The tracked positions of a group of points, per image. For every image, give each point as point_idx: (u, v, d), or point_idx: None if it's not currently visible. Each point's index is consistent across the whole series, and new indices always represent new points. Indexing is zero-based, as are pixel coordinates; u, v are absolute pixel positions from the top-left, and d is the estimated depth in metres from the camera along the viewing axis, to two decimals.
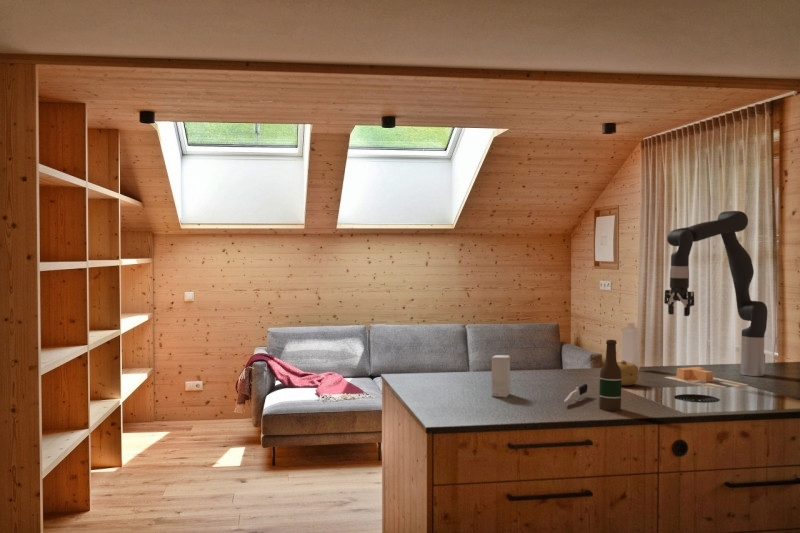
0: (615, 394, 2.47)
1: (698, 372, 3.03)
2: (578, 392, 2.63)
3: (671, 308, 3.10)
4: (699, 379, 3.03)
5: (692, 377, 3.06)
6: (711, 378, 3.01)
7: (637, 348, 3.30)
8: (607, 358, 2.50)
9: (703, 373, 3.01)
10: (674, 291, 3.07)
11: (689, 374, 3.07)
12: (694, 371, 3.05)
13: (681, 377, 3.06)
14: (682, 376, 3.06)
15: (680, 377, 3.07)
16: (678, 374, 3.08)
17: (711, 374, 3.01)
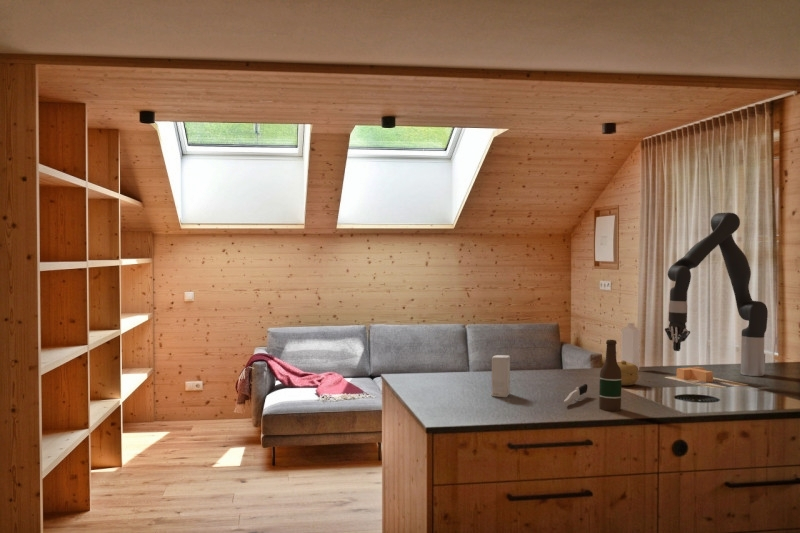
0: (615, 394, 2.47)
1: (698, 372, 3.03)
2: (578, 392, 2.63)
3: None
4: (699, 379, 3.03)
5: (692, 377, 3.06)
6: (711, 378, 3.01)
7: (637, 348, 3.30)
8: (607, 358, 2.50)
9: (703, 373, 3.01)
10: (672, 325, 3.17)
11: (689, 374, 3.07)
12: (694, 371, 3.05)
13: (681, 377, 3.06)
14: (682, 376, 3.06)
15: (680, 377, 3.07)
16: (678, 374, 3.08)
17: (711, 374, 3.01)
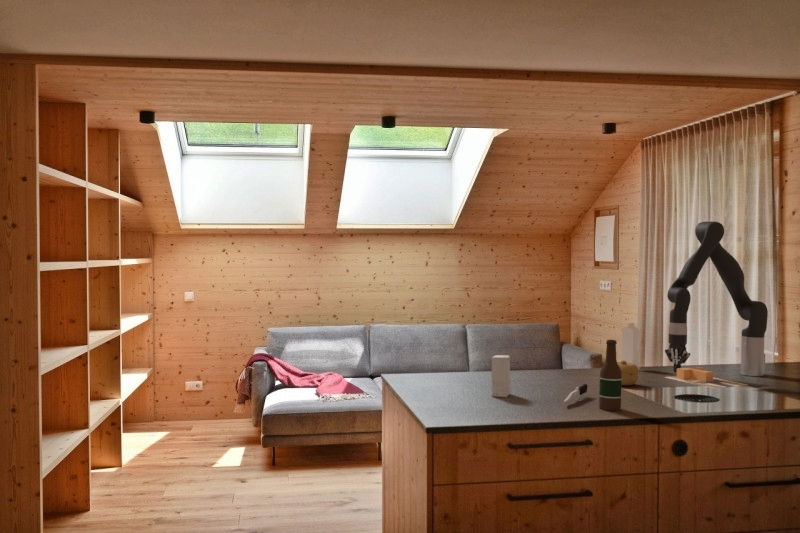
0: (615, 394, 2.47)
1: (698, 372, 3.03)
2: (578, 392, 2.63)
3: None
4: (699, 379, 3.03)
5: (692, 377, 3.06)
6: (711, 378, 3.01)
7: (637, 348, 3.30)
8: (607, 358, 2.50)
9: (703, 373, 3.01)
10: (673, 346, 3.17)
11: (689, 374, 3.07)
12: (694, 371, 3.05)
13: (681, 377, 3.06)
14: (682, 376, 3.06)
15: (680, 377, 3.07)
16: (678, 374, 3.08)
17: (711, 374, 3.01)
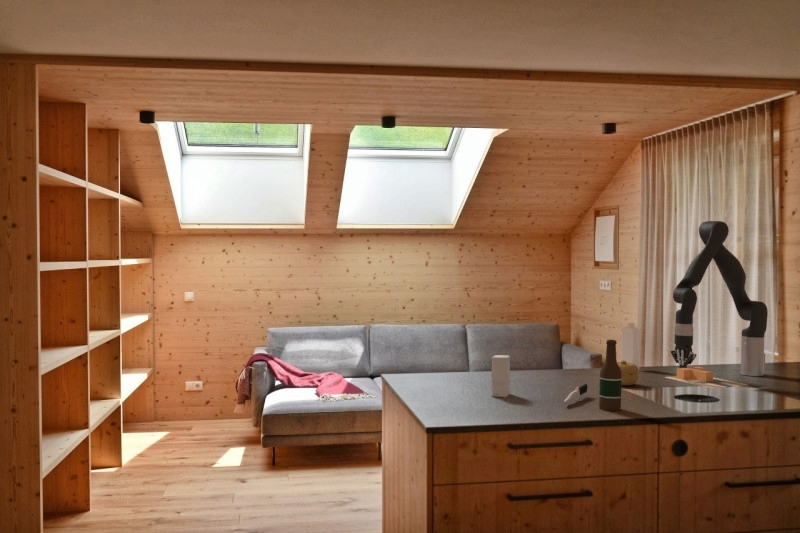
0: (615, 394, 2.47)
1: (698, 372, 3.03)
2: (578, 392, 2.63)
3: None
4: (699, 379, 3.03)
5: (692, 377, 3.06)
6: (711, 378, 3.01)
7: (637, 348, 3.30)
8: (607, 358, 2.50)
9: (703, 373, 3.01)
10: (678, 347, 3.14)
11: (689, 374, 3.07)
12: (694, 371, 3.05)
13: (681, 377, 3.06)
14: (682, 376, 3.06)
15: (680, 377, 3.07)
16: (678, 374, 3.08)
17: (711, 374, 3.01)
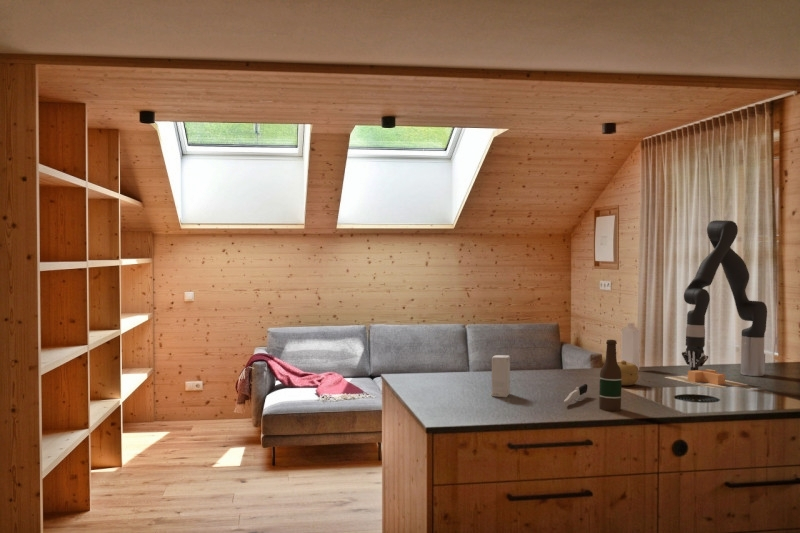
0: (615, 394, 2.47)
1: (710, 375, 2.97)
2: (578, 392, 2.63)
3: (693, 369, 3.07)
4: (711, 382, 2.97)
5: (704, 380, 3.00)
6: (723, 381, 2.95)
7: (637, 348, 3.30)
8: (607, 358, 2.50)
9: (715, 376, 2.95)
10: (690, 349, 3.08)
11: (700, 377, 3.01)
12: (706, 374, 2.99)
13: (692, 380, 3.00)
14: (693, 379, 3.00)
15: (691, 380, 3.01)
16: (689, 377, 3.02)
17: (723, 377, 2.95)
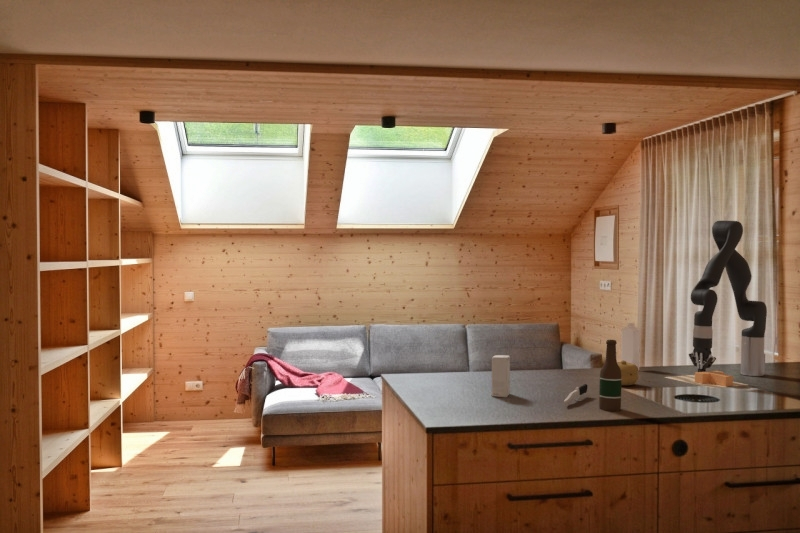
0: (615, 394, 2.47)
1: (717, 376, 2.94)
2: (578, 392, 2.63)
3: (701, 371, 3.04)
4: (718, 383, 2.93)
5: (711, 381, 2.97)
6: (731, 382, 2.91)
7: (637, 348, 3.30)
8: (607, 358, 2.50)
9: (723, 377, 2.91)
10: (697, 350, 3.05)
11: (708, 378, 2.97)
12: (713, 375, 2.96)
13: (700, 381, 2.97)
14: (700, 381, 2.97)
15: (699, 381, 2.98)
16: (696, 378, 2.99)
17: (731, 378, 2.91)
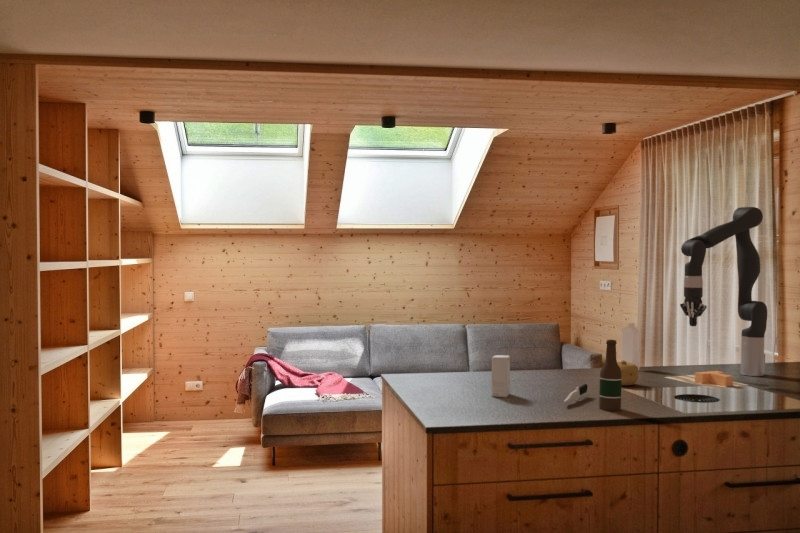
0: (615, 394, 2.47)
1: (717, 376, 2.94)
2: (578, 392, 2.63)
3: None
4: (718, 383, 2.93)
5: (711, 381, 2.97)
6: (731, 382, 2.91)
7: (637, 348, 3.30)
8: (607, 358, 2.50)
9: (723, 377, 2.91)
10: (688, 300, 3.15)
11: (708, 378, 2.97)
12: (713, 375, 2.96)
13: (700, 381, 2.97)
14: (700, 381, 2.97)
15: (699, 381, 2.98)
16: (696, 378, 2.99)
17: (731, 378, 2.91)
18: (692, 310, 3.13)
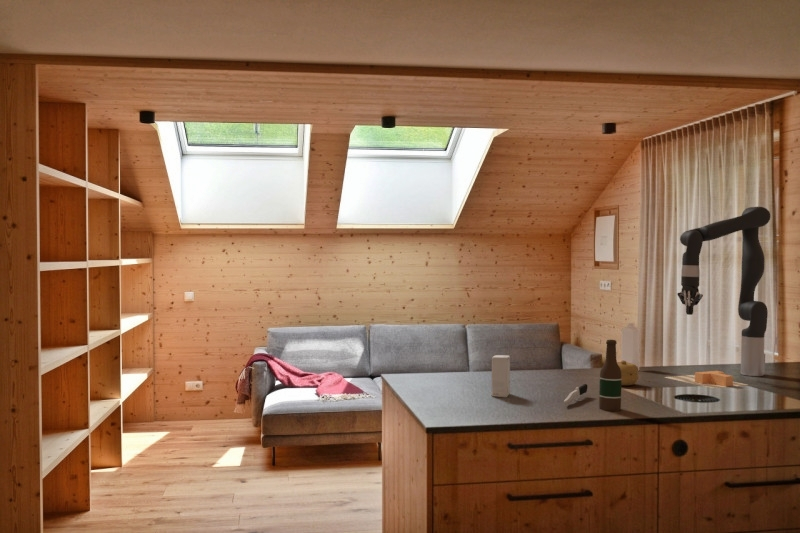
0: (615, 394, 2.47)
1: (717, 376, 2.94)
2: (578, 392, 2.63)
3: None
4: (718, 383, 2.93)
5: (711, 381, 2.97)
6: (731, 382, 2.91)
7: (637, 348, 3.30)
8: (607, 358, 2.50)
9: (723, 377, 2.91)
10: (685, 289, 3.22)
11: (708, 378, 2.97)
12: (713, 375, 2.96)
13: (700, 381, 2.97)
14: (700, 381, 2.97)
15: (699, 381, 2.98)
16: (696, 378, 2.99)
17: (731, 378, 2.91)
18: (689, 299, 3.20)
